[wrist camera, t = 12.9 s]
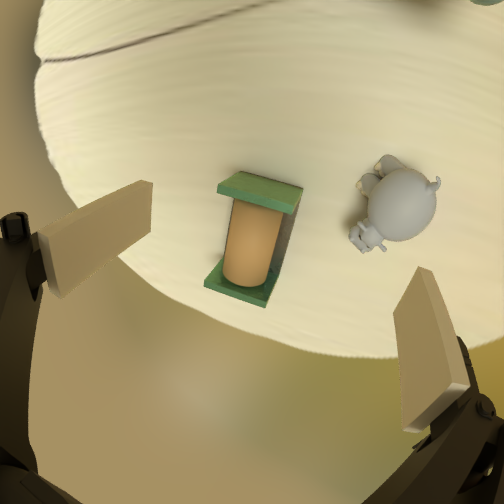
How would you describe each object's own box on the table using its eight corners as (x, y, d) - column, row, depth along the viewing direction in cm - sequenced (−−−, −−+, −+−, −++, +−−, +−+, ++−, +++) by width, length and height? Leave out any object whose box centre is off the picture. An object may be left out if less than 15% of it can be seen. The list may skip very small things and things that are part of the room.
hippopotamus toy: (329, 209, 43) (325, 232, 35) (398, 140, 36) (413, 146, 27) (376, 255, 44) (381, 288, 36) (444, 194, 36) (466, 214, 28)
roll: (242, 188, 44) (228, 202, 38) (287, 200, 43) (280, 216, 37) (229, 256, 50) (216, 278, 44) (269, 268, 49) (261, 292, 43)
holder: (240, 170, 45) (218, 184, 37) (303, 188, 43) (294, 205, 35) (224, 259, 53) (203, 286, 45) (278, 277, 51) (265, 308, 43)
